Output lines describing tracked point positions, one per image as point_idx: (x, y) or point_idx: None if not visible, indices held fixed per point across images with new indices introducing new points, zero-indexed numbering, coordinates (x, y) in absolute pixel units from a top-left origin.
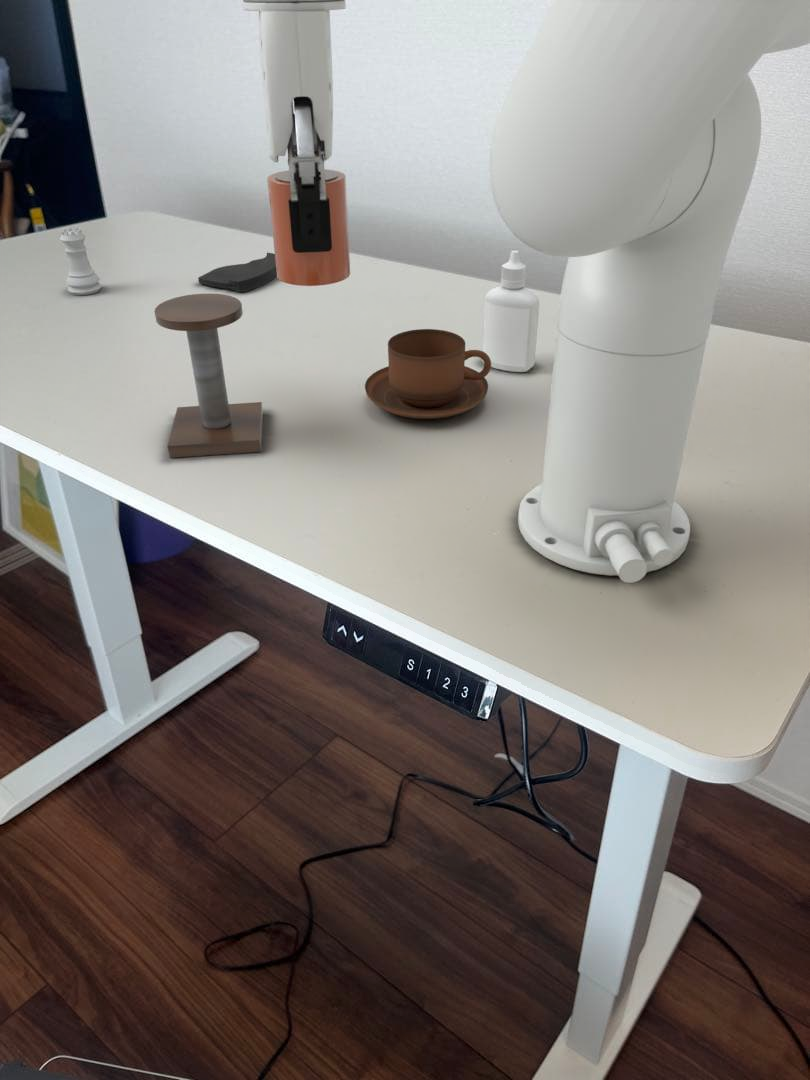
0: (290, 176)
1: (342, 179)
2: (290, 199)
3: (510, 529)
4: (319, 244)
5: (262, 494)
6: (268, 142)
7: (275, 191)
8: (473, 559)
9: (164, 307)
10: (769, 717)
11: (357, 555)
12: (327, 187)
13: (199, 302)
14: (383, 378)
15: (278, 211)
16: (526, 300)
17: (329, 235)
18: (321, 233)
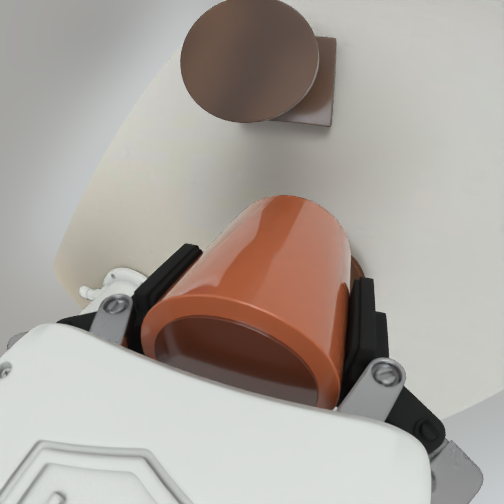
0: (91, 328)
1: None
2: (147, 299)
3: (134, 265)
4: None
5: (175, 120)
6: (30, 348)
7: (176, 286)
8: (112, 238)
9: (251, 7)
10: (65, 288)
11: (112, 180)
12: None
13: (267, 55)
14: (351, 262)
15: (197, 262)
16: (334, 408)
17: None
18: None
